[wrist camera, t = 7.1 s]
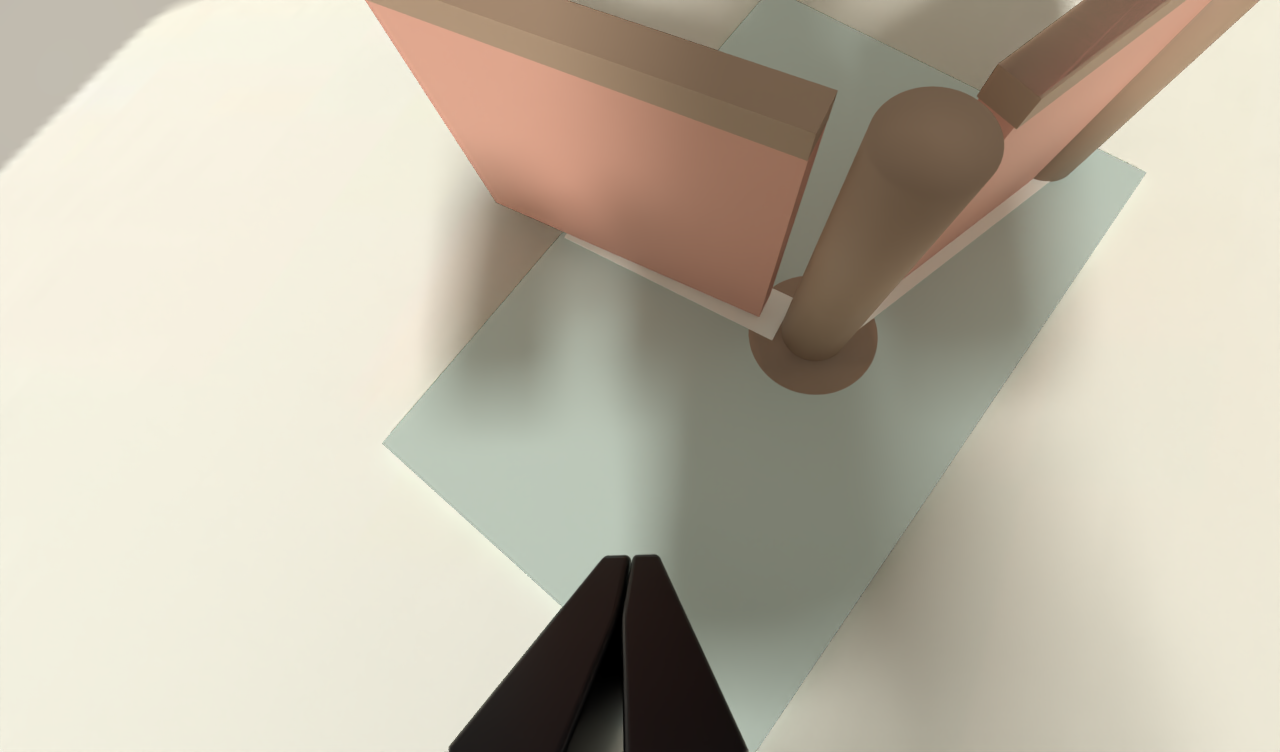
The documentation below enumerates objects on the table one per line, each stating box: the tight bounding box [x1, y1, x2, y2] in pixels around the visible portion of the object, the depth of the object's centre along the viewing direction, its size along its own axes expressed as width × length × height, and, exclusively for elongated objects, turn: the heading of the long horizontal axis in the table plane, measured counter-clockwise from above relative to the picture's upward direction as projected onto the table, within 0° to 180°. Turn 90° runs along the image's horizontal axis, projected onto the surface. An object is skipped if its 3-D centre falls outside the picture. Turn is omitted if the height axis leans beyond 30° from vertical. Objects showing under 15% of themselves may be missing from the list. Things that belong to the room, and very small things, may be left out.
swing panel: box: [365, 0, 1004, 361], centre depth 14 cm, size 13×2×9 cm, turn 62°
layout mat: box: [382, 0, 1147, 752], centre depth 18 cm, size 14×22×1 cm, turn 142°
